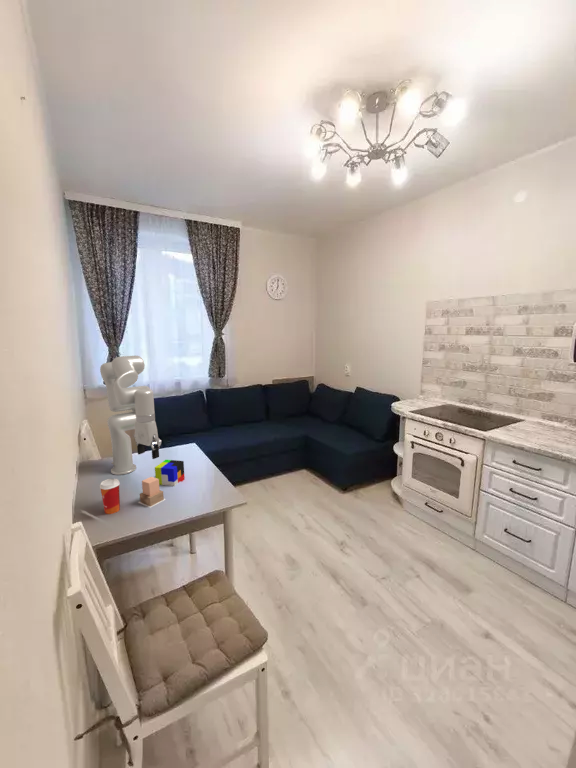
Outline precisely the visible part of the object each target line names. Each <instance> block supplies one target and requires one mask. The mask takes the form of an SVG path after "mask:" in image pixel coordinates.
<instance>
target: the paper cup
mask: <svg viewBox="0 0 576 768" xmlns="http://www.w3.org/2000/svg"><path fill="white" fill-rule="evenodd" d="M120 484H121V482H120V481H119V479H118V478H108V479H104V480H103V481H101V482H100V485H99V489H100V493H101V498H102V503H103V504H102V505H103V510H104V513H105V515H111V514H115V513H117V512H119V511H120V510H121V508H120V507H121V505H120V503H121V502H120V499H121V497H120Z"/></svg>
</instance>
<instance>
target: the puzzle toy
mask: <svg viewBox="0 0 576 768" xmlns="http://www.w3.org/2000/svg"><path fill="white" fill-rule="evenodd" d="M184 462H185V461H184V460H176V459H175V460H173V459H164V460H163V461H162V462H161V463H159V464H158V465H156V466H155V467H154V475H155V477H154V478H157V479H159V486H168V487H169V486H171V487H175V486H177V484H179V483H180V482H181V483H182V482H183V481H184V480H185V478H186V477H185V464H184Z"/></svg>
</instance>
